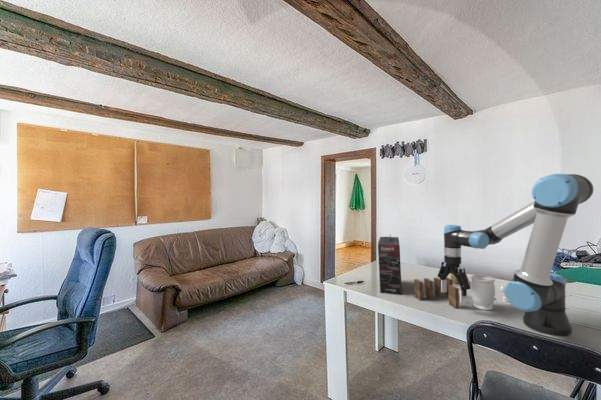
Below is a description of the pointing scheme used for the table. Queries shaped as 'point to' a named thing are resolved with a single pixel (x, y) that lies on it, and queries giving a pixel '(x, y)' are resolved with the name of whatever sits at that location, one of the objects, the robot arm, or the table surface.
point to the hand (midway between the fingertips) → (452, 296)
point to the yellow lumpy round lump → (455, 277)
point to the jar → (482, 291)
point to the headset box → (389, 265)
